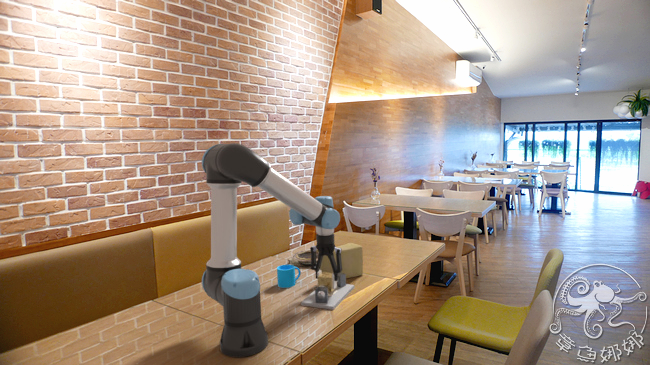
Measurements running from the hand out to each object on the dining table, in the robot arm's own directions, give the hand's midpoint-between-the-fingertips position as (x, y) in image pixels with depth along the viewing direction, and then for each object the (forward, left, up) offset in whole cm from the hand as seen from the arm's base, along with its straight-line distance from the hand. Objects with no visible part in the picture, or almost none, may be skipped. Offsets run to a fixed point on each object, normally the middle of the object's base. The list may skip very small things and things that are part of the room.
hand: (327, 286), depth 159 cm
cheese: (+21, +3, -4) cm, 21 cm away
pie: (+40, +27, -4) cm, 48 cm away
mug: (+7, +22, -4) cm, 23 cm away
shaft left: (-8, -1, -2) cm, 8 cm away
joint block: (0, 0, -1) cm, 1 cm away
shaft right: (+8, -1, -2) cm, 8 cm away
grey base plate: (-1, -1, -3) cm, 4 cm away
